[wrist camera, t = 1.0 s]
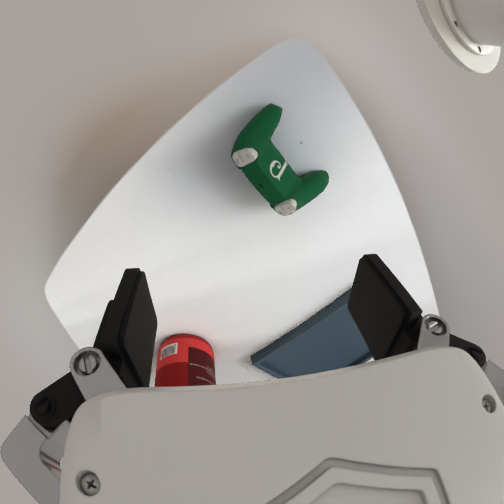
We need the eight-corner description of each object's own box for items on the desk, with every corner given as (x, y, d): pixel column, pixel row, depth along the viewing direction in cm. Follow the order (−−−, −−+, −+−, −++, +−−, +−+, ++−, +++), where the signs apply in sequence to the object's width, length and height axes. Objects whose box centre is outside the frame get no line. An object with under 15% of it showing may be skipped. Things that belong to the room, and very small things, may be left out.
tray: (366, 277, 33) (371, 284, 32) (400, 329, 41) (404, 335, 40) (250, 356, 38) (251, 364, 37) (308, 388, 46) (310, 394, 45)
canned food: (155, 361, 37) (149, 427, 27) (163, 326, 33) (155, 402, 24) (205, 370, 39) (208, 435, 30) (220, 338, 35) (226, 411, 26)
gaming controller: (249, 114, 23) (213, 150, 21) (278, 97, 20) (243, 133, 18) (304, 185, 28) (280, 227, 25) (334, 178, 25) (313, 223, 22)
